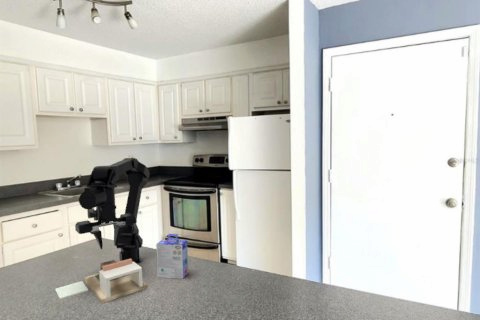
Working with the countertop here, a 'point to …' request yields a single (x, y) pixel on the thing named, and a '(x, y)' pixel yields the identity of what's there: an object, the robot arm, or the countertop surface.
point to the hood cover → (119, 274)
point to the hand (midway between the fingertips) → (108, 247)
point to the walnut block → (107, 264)
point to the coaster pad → (71, 290)
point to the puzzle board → (113, 287)
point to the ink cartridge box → (172, 258)
